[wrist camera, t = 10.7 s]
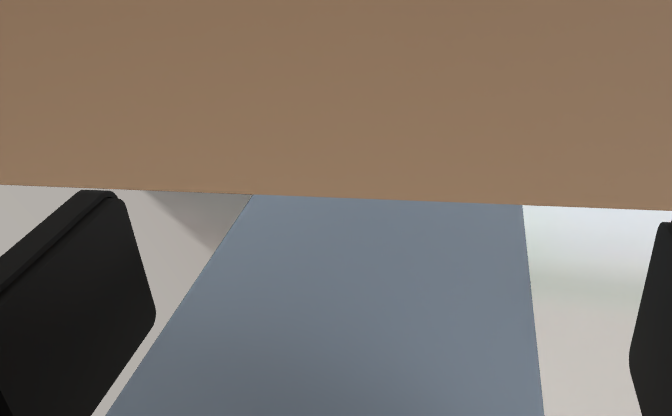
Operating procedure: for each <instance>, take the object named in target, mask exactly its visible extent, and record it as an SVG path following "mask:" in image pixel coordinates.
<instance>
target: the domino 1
mask: <svg viewBox="0 0 672 416" xmlns="http://www.w3.org/2000/svg"><path fill="white" fill-rule="evenodd" d="M0 184H1V185H23V186H50V187H75V188H102V189H127V190H152V191H177V192H203V193H229V194H254V195H280V196H305V197H331V198H357V199H382V200H408V201H434V202H459V203H485V204H511V205H536V206H562V207H588V208H613V209H639V210H664V211H672V0H0Z"/></svg>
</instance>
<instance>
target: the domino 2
mask: <svg viewBox="0 0 672 416" xmlns="http://www.w3.org/2000/svg"><path fill="white" fill-rule="evenodd" d="M106 416H544V409H543V399H542V390H541V380H540V370H539V361H538V351H537V342H536V332H535V323H534V313H533V304H532V294H531V285H530V275H529V266H528V256H527V247H526V237H525V228H524V218H523V209H522V205H511V204H485V203H459V202H434V201H408V200H382V199H357V198H331V197H305V196H280V195H254V194H253V196H252V197H251V199H250V200H249V202H248V203H247V205H246V206H245V208H244V209H243V211H242V212H241V214H240V215H239V216H238V218H237V219H236V221H235V222H234V224H233V225H232V227H231V228H230V230H229V231H228V233H227V234H226V236H225V237H224V239H223V240H222V242H221V243H220V245H219V246H218V248H217V249H216V251H215V252H214V254H213V255H212V257H211V259H210V260H209V261H208V263H207V264H206V266H205V267H204V269H203V270H202V272H201V273H200V275H199V276H198V278H197V279H196V281H195V282H194V284H193V285H192V287H191V289H190V290H189V291H188V293H187V294H186V296H185V297H184V299H183V300H182V302H181V303H180V305H179V307H178V308H177V309H176V311H175V312H174V314H173V315H172V317H171V318H170V320H169V321H168V323H167V324H166V326H165V327H164V329H163V330H162V332H161V333H160V335H159V336H158V338H157V339H156V341H155V342H154V344H153V345H152V347H151V348H150V350H149V351H148V353H147V354H146V356H145V357H144V359H143V360H142V362H141V363H140V365H139V366H138V367H137V369H136V371H135V372H134V373H133V375H132V377H131V378H130V379H129V381H128V383H127V384H126V385H125V387H124V388H123V390H122V392H121V393H120V394H119V396H118V397H117V399H116V401H115V402H114V403H113V405H112V406H111V408H110V409H109V411H108V412H107V414H106Z"/></svg>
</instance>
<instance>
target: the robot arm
mask: <svg viewBox="0 0 672 416" xmlns="http://www.w3.org/2000/svg"><path fill="white" fill-rule="evenodd" d="M155 317H156V310H155V305H154V301H153V298H152V295H151V291H150V288H149V284H148V281H147V277H146V274H145V270H144V268H143V264H142V260H141V257H140V253H139V250H138V246H137V243H136V239H135V236H134V233H133V230H132V226H131V222H130V219H129V216H128V212H127V208H126V206H125V203H124V202H123V201H122V200H121V199H118V198H117V196H116V195H115V193H113V192H111V191H101V190H80V191H79V192H77V193H76V194H75V195H74V196H72V197H71V198H70V199H69V200H68V201H66V202H65V203H64V204H63V205H61V206H60V207H59V208H58V209H57V210H56V211H54V212H53V213H52V214H51V215H50V216H48V217H47V218H46V219H45V220H44V221H43V222H42V223H40V224H39V225H38V226H37V227H36V228H34V229H33V230H32V231H31V232H30V233H28V234H27V235H26V236H25V237H24V238H22V239H21V240H20V241H19V242H18V243H16V244H15V245H14V246H13V247H12V248H11V249H9V250H8V251H7V252H6V253H5V254H3V255H2V256H1V257H0V416H91V415H92V413H93V412H94V410H95V409H96V408H97V406H98V405H99V403H100V402H101V400H102V399H103V397H104V396H105V395H106V393H107V392H108V390H109V389H110V387H111V386H112V385H113V383H114V382H115V380H116V379H117V377H118V376H119V374H120V373H121V372H122V370H123V369H124V367H125V366H126V364H127V363H128V362H129V360H130V359H131V357H132V356H133V354H134V353H135V351H136V350H137V348H138V347H139V346H140V344H141V343H142V341H143V340H144V339H145V337H146V336H147V334H148V333H149V331H150V330H151V328H152V327H153V325H154V322H155ZM629 367H630V373H631V376H632V380H633V384H634V387H635V391H636V395H637V398H638V402H639V405H640V409H641V413H642V416H672V221H671V222H662V223H660V225H659V227H658V230H657V234H656V238H655V242H654V247H653V251H652V255H651V260H650V264H649V268H648V273H647V277H646V281H645V286H644V290H643V294H642V299H641V303H640V307H639V312H638V316H637V320H636V325H635V329H634V333H633V338H632V342H631V346H630V352H629Z"/></svg>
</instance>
